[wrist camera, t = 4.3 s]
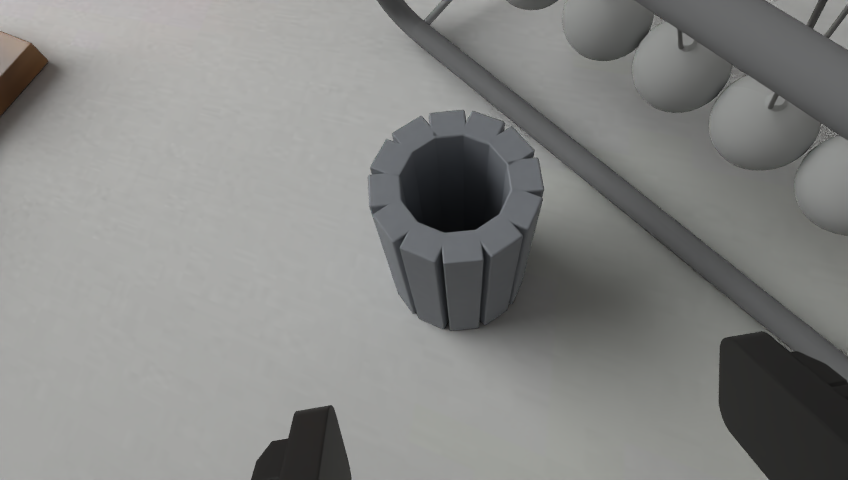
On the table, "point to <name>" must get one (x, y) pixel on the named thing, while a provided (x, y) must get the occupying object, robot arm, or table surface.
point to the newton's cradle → (693, 88)
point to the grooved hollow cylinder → (456, 215)
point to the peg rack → (17, 67)
